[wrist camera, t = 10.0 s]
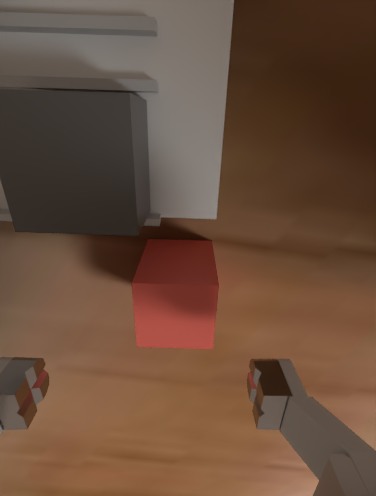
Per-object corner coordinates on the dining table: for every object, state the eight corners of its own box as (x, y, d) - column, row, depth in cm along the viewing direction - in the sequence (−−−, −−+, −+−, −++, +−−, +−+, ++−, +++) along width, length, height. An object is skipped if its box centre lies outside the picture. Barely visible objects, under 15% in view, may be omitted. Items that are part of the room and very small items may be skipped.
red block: (211, 240, 16) (218, 285, 12) (208, 292, 18) (213, 349, 14) (148, 238, 16) (131, 283, 12) (150, 290, 18) (137, 346, 14)
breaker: (146, 100, 11) (129, 93, 8) (150, 209, 14) (138, 236, 11) (32, 96, 11) (-26, 88, 8) (55, 206, 14) (15, 232, 11)
